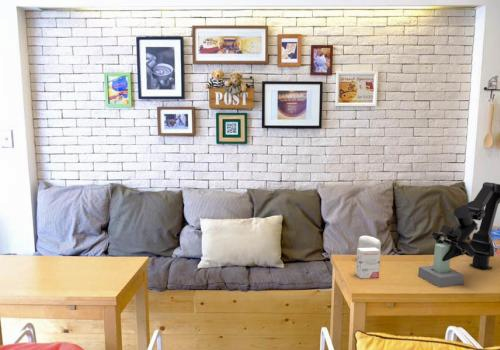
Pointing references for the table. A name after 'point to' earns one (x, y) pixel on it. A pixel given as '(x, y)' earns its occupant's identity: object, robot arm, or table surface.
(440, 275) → the grey square socket block
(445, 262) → the pale green block
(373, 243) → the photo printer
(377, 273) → the ink box
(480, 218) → the robot arm
